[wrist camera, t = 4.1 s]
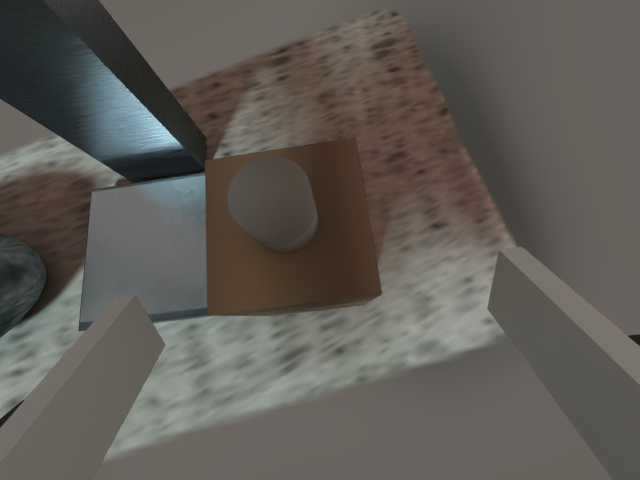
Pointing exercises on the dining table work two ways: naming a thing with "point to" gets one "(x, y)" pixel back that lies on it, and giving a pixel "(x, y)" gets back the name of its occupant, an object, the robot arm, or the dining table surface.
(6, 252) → the blue grey streaked ovoid
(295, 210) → the brown bottle
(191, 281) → the press
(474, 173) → the dining table surface
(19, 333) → the dining table surface
